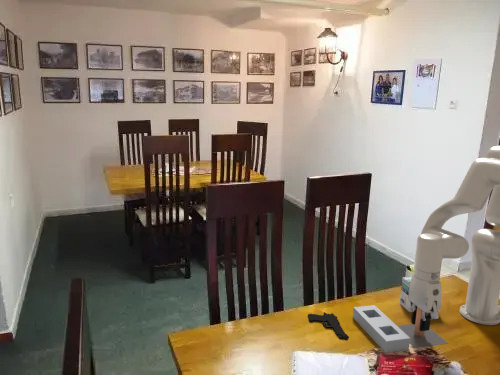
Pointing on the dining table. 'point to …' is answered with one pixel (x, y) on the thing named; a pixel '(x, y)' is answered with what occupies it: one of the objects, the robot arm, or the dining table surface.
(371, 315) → the socket block
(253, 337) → the dining table surface
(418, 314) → the dowel
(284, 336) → the dining table surface
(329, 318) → the handgun
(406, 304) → the light bulb box
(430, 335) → the mat
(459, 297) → the dining table surface
